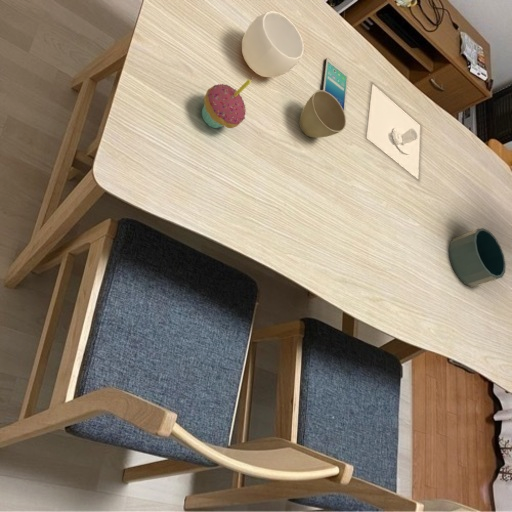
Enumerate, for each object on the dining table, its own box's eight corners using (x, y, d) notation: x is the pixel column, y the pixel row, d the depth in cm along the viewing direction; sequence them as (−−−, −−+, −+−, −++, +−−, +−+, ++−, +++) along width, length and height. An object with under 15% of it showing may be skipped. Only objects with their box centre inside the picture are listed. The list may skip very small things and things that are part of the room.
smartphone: (348, 73, 144) (344, 116, 137) (345, 74, 145) (342, 118, 137) (327, 56, 141) (322, 99, 133) (324, 58, 141) (319, 101, 134)
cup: (284, 71, 129) (314, 46, 122) (262, 97, 121) (292, 71, 114) (247, 28, 126) (275, -1, 119) (222, 51, 118) (251, 22, 111)
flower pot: (326, 124, 132) (348, 108, 127) (319, 155, 127) (343, 140, 122) (294, 98, 128) (316, 81, 123) (286, 129, 123) (309, 112, 118)
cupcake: (201, 89, 110) (238, 53, 102) (234, 116, 114) (273, 84, 105) (187, 119, 105) (225, 84, 97) (223, 146, 109) (262, 115, 100)
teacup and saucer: (388, 142, 147) (401, 134, 144) (390, 120, 151) (402, 112, 148) (410, 160, 151) (423, 153, 148) (411, 138, 155) (424, 131, 152)
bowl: (475, 246, 158) (500, 236, 153) (483, 292, 152) (509, 283, 147) (445, 231, 151) (471, 221, 145) (452, 279, 145) (479, 270, 140)
